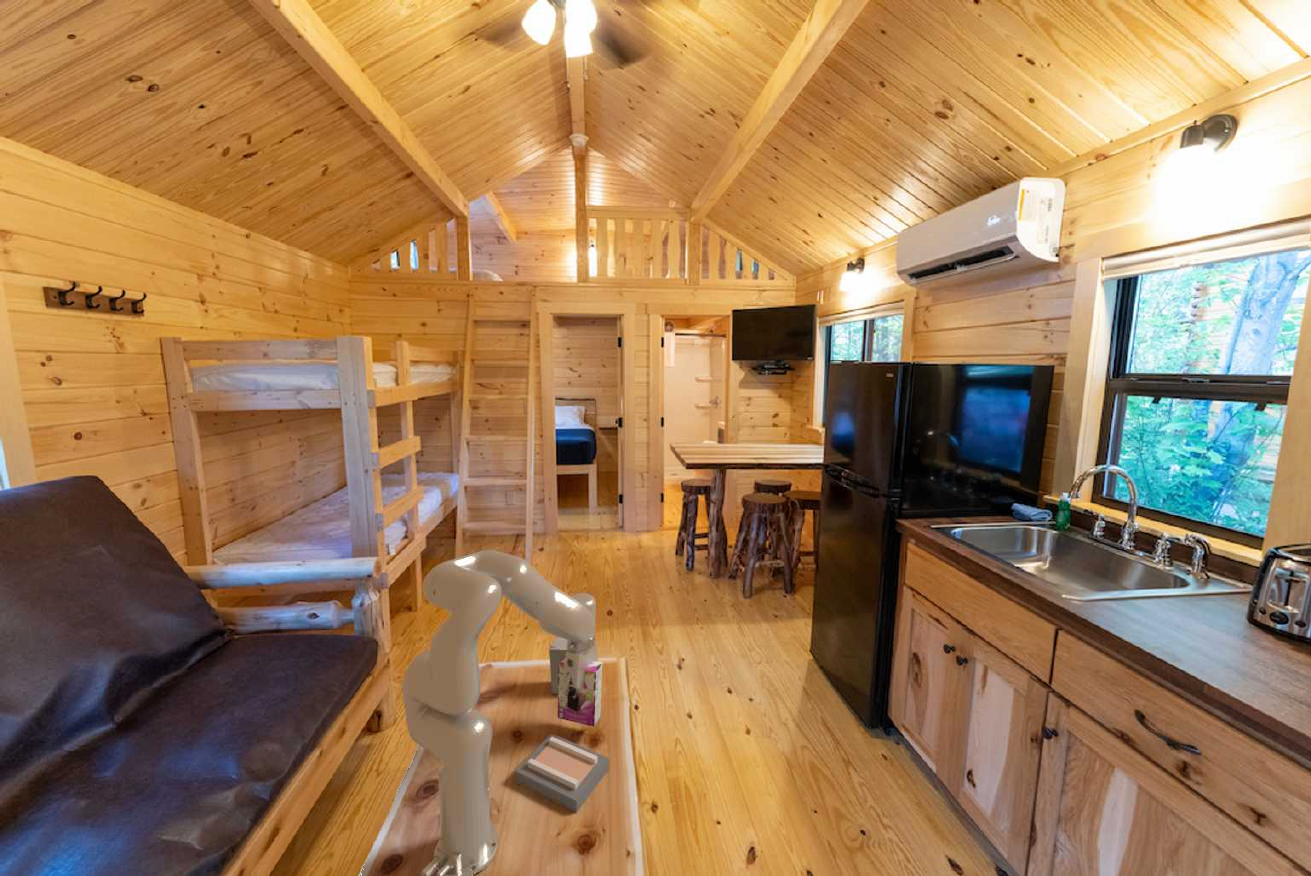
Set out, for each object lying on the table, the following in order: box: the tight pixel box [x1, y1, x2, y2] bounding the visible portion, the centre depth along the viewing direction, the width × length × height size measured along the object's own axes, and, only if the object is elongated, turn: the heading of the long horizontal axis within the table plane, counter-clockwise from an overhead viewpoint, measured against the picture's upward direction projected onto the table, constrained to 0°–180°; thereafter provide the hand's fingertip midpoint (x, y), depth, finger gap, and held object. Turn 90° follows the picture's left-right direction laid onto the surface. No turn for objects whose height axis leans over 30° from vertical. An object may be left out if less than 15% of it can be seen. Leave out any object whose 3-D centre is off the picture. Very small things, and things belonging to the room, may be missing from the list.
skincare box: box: [548, 636, 567, 695], centre depth 156 cm, size 8×7×16 cm
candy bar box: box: [557, 655, 603, 728], centre depth 138 cm, size 11×5×16 cm, turn 74°
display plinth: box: [514, 732, 610, 813], centre depth 124 cm, size 14×18×4 cm
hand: (579, 701), depth 138 cm, fingers closed on candy bar box, 5 cm apart
